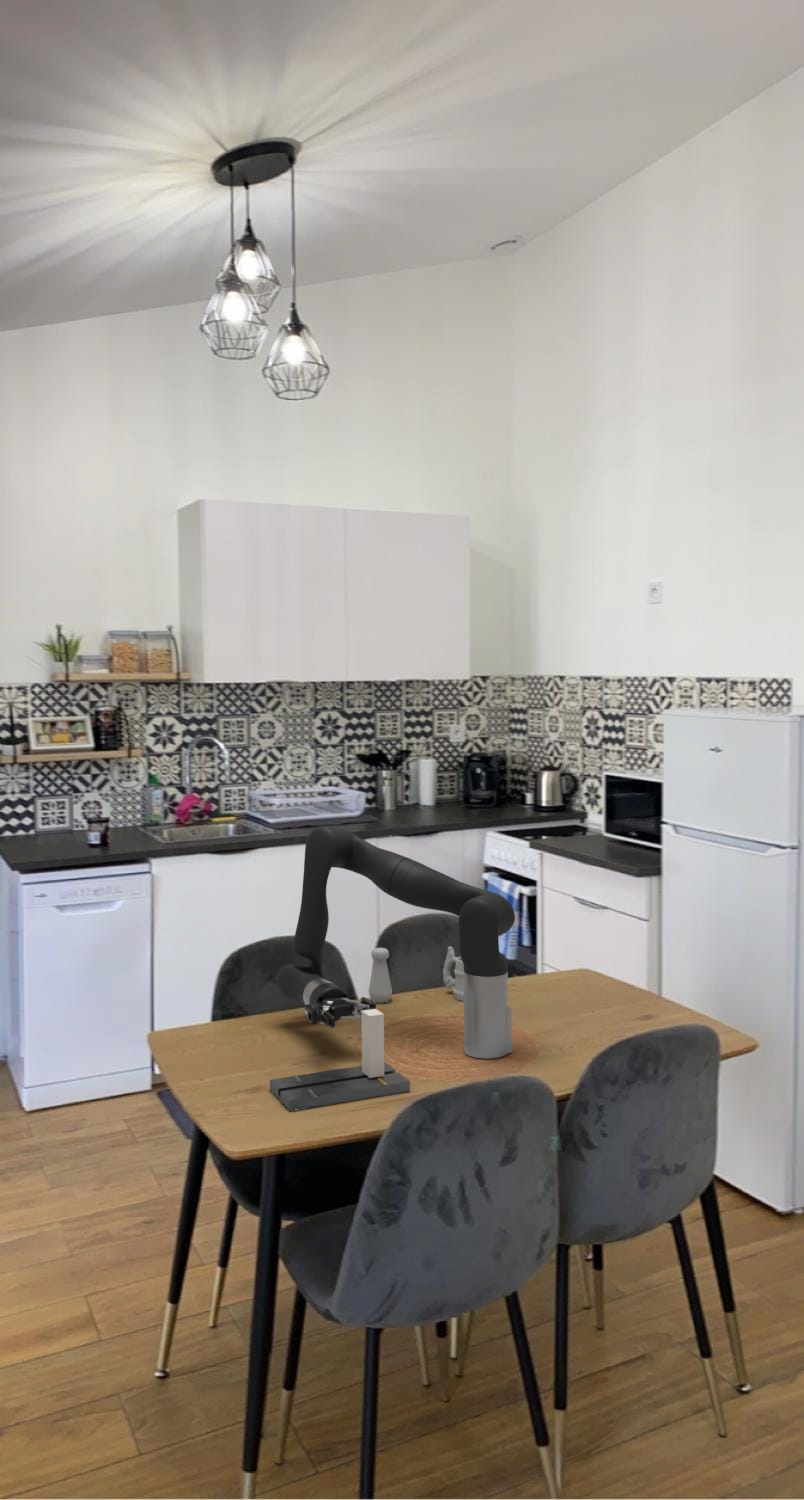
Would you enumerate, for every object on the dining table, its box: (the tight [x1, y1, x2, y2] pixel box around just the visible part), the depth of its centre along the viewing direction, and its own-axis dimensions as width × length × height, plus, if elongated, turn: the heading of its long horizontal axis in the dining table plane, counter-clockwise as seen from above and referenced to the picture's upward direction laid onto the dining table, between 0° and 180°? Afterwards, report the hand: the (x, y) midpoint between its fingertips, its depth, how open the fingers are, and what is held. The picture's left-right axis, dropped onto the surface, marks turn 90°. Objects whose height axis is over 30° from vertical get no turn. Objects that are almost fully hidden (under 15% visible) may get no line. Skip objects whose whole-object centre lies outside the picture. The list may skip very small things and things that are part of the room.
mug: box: [442, 946, 464, 1002], centre depth 276 cm, size 8×12×12 cm, turn 49°
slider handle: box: [361, 1008, 385, 1078], centre depth 215 cm, size 3×4×13 cm
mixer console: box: [269, 1061, 411, 1112], centre depth 212 cm, size 24×12×2 cm, turn 114°
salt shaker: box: [368, 947, 393, 1004], centre depth 273 cm, size 6×6×13 cm
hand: (353, 1020), depth 224 cm, fingers open, 8 cm apart
